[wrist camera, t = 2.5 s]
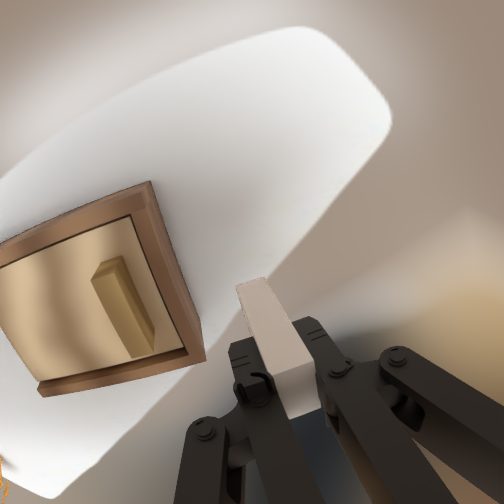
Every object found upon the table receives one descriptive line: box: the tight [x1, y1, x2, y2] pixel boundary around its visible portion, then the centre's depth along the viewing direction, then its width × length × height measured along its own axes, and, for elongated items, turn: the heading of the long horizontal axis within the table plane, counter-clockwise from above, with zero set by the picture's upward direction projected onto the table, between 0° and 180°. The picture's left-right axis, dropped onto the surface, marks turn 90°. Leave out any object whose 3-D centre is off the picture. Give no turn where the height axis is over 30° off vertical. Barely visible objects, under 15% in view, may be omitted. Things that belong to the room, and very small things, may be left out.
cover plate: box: [0, 214, 184, 382], centre depth 18 cm, size 15×10×4 cm
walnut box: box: [0, 181, 206, 397], centre depth 21 cm, size 16×13×6 cm
